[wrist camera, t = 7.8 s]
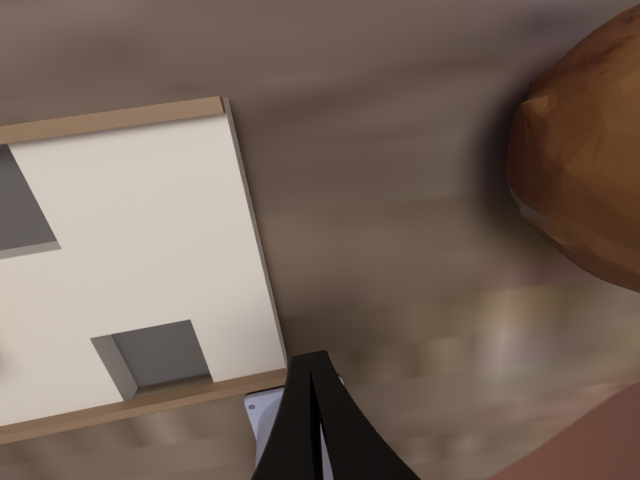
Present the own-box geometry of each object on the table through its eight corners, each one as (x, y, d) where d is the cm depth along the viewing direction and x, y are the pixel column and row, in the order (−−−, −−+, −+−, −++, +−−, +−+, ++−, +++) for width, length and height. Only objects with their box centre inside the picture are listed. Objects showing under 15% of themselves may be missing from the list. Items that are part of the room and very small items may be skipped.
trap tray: (286, 354, 24) (288, 396, 20) (-19, 416, 22) (-74, 473, 18) (228, 98, 16) (215, 95, 13) (-232, 162, 15) (-388, 177, 11)
